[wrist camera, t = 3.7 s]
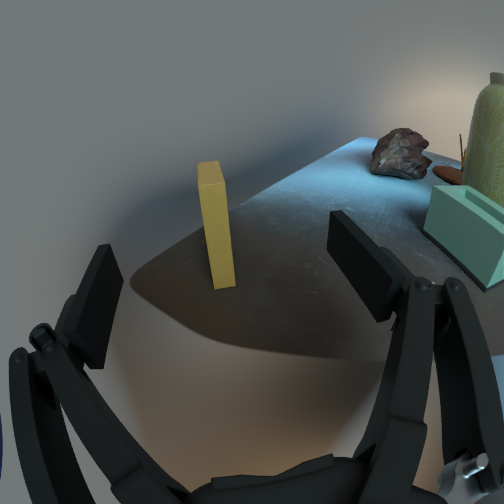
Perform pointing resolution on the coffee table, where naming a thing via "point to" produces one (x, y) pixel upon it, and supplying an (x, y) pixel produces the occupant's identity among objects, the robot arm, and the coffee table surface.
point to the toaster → (468, 232)
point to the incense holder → (451, 171)
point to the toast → (216, 223)
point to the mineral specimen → (400, 155)
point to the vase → (487, 143)
